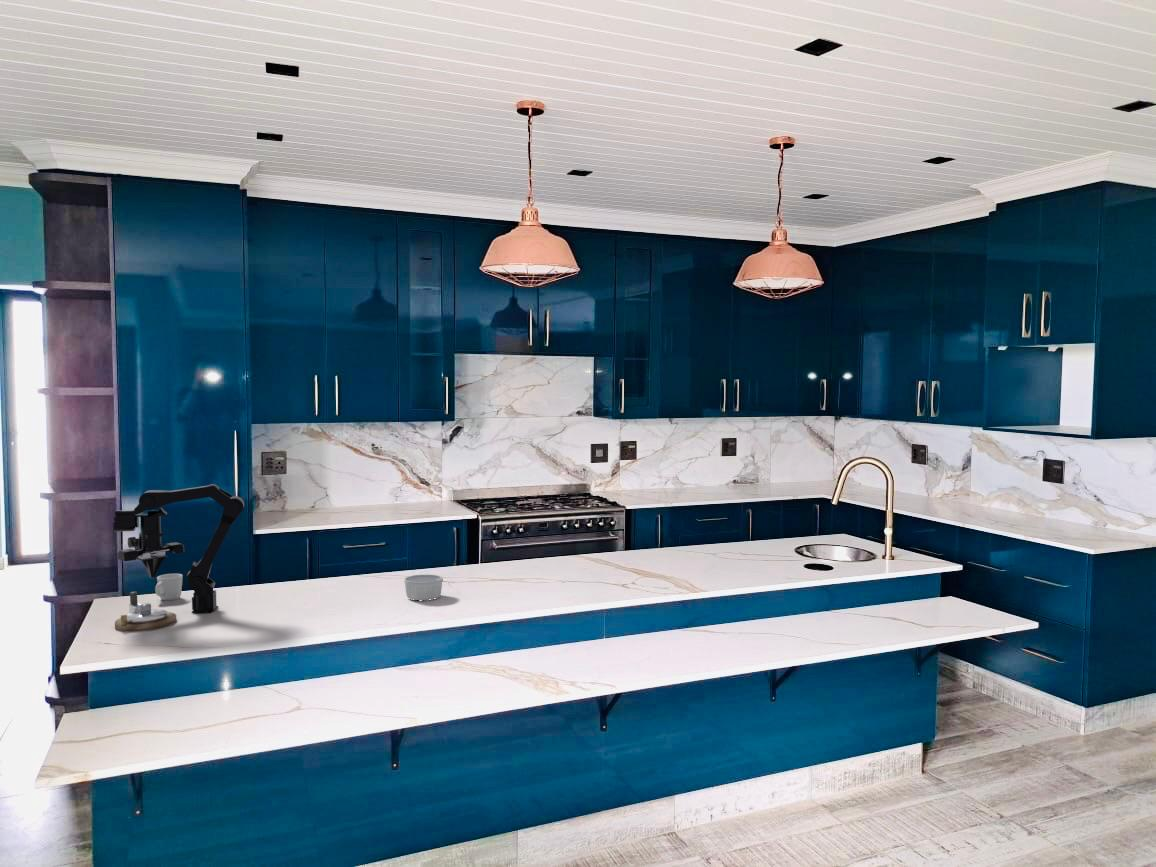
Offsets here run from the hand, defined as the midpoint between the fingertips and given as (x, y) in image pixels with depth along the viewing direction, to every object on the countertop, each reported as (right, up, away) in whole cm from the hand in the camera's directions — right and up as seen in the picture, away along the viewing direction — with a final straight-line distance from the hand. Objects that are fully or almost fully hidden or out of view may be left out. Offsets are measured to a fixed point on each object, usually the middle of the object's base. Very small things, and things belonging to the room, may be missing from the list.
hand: (152, 578), depth 270 cm
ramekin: (+83, -11, +22) cm, 87 cm away
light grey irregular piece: (+1, -11, -8) cm, 14 cm away
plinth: (+3, -13, -9) cm, 16 cm away
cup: (-5, -11, +20) cm, 23 cm away
